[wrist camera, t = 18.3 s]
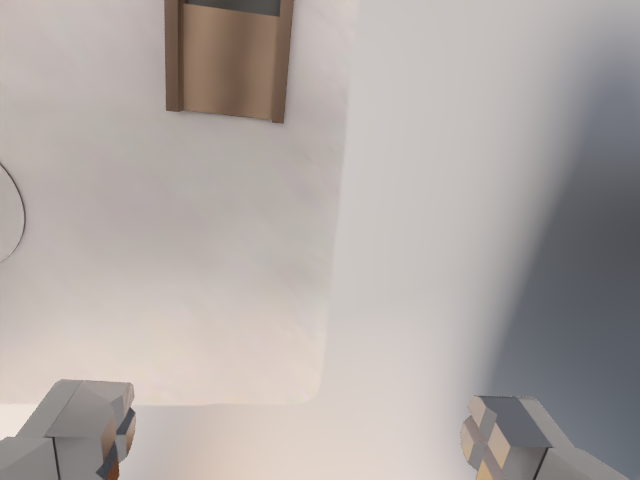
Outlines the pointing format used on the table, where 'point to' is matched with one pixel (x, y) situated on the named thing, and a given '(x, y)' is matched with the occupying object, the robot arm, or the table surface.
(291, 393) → the table surface
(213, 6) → the board
